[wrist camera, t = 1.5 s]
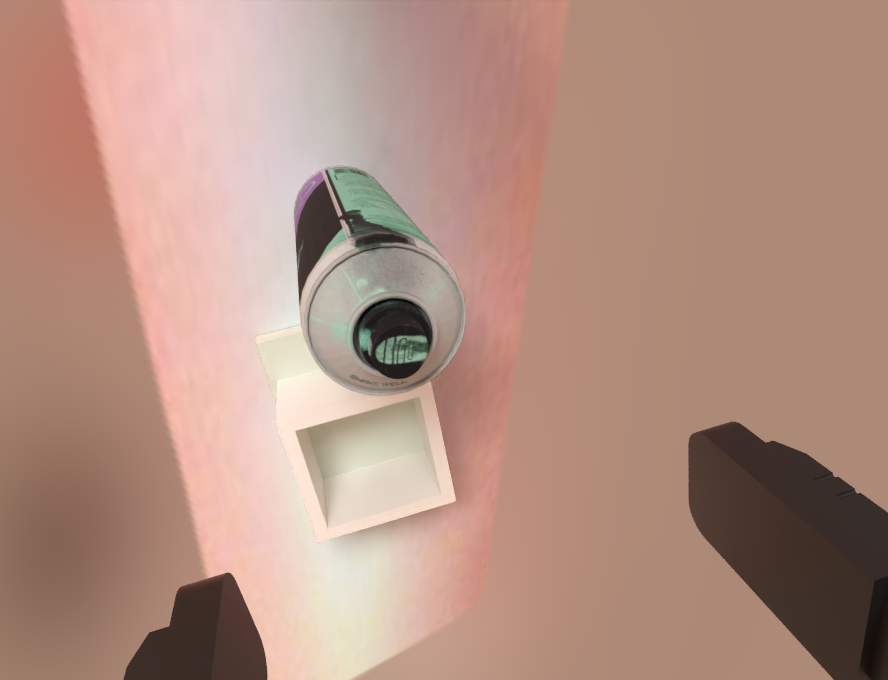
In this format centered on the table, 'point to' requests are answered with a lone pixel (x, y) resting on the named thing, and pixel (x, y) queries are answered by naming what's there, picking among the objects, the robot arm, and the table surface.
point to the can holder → (353, 443)
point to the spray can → (372, 287)
